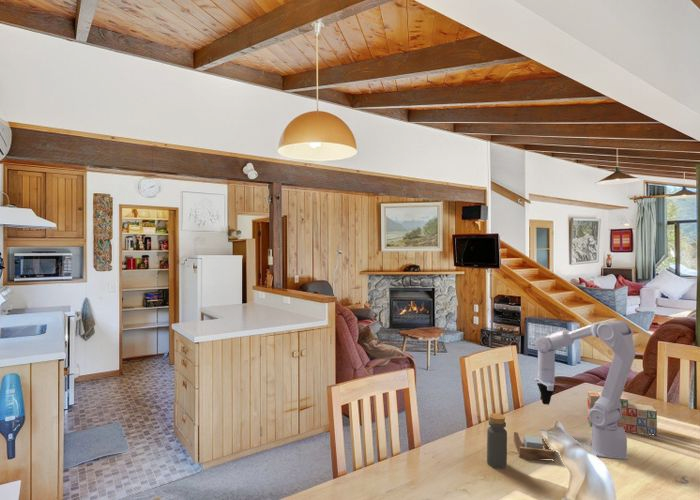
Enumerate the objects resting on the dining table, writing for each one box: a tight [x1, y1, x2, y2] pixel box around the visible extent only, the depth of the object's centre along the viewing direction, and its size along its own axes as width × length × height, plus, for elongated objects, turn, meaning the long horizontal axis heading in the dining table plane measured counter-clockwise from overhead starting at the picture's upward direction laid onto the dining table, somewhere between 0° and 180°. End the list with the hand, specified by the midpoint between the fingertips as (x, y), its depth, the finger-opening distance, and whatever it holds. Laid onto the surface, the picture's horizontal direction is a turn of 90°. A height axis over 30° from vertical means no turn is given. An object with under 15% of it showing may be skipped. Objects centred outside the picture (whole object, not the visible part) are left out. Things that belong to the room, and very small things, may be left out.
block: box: [523, 434, 544, 449], centre depth 139 cm, size 5×5×4 cm
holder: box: [513, 431, 556, 460], centre depth 139 cm, size 10×12×3 cm
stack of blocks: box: [587, 390, 658, 436], centre depth 158 cm, size 21×6×12 cm, turn 68°
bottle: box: [486, 412, 508, 470], centre depth 130 cm, size 6×6×15 cm
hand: (545, 403), depth 157 cm, fingers closed
